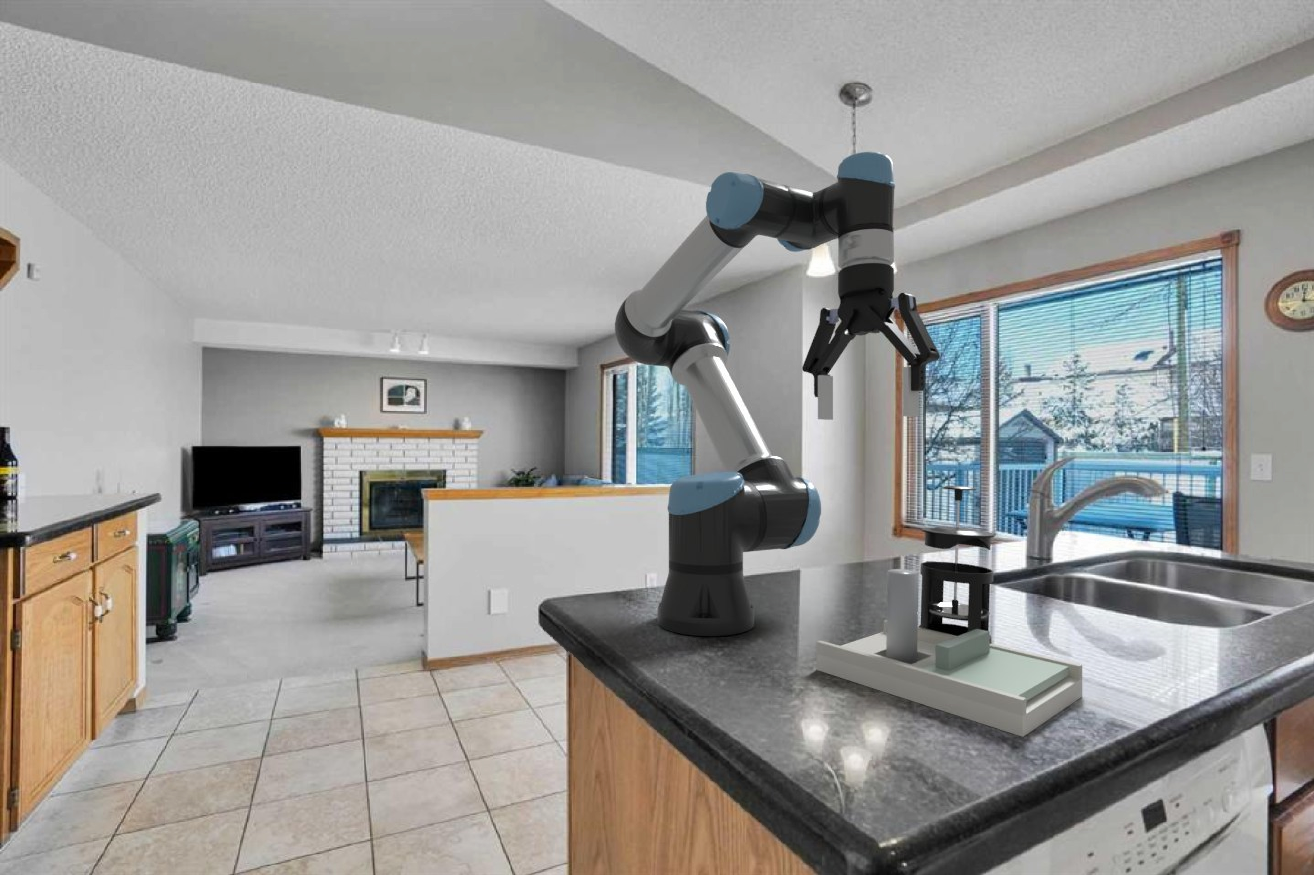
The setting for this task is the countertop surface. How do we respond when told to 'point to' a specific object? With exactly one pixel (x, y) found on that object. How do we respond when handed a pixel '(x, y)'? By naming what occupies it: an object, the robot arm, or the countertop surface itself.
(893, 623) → the pin
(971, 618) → the french press
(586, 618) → the countertop surface
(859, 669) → the housing
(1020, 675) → the lid
